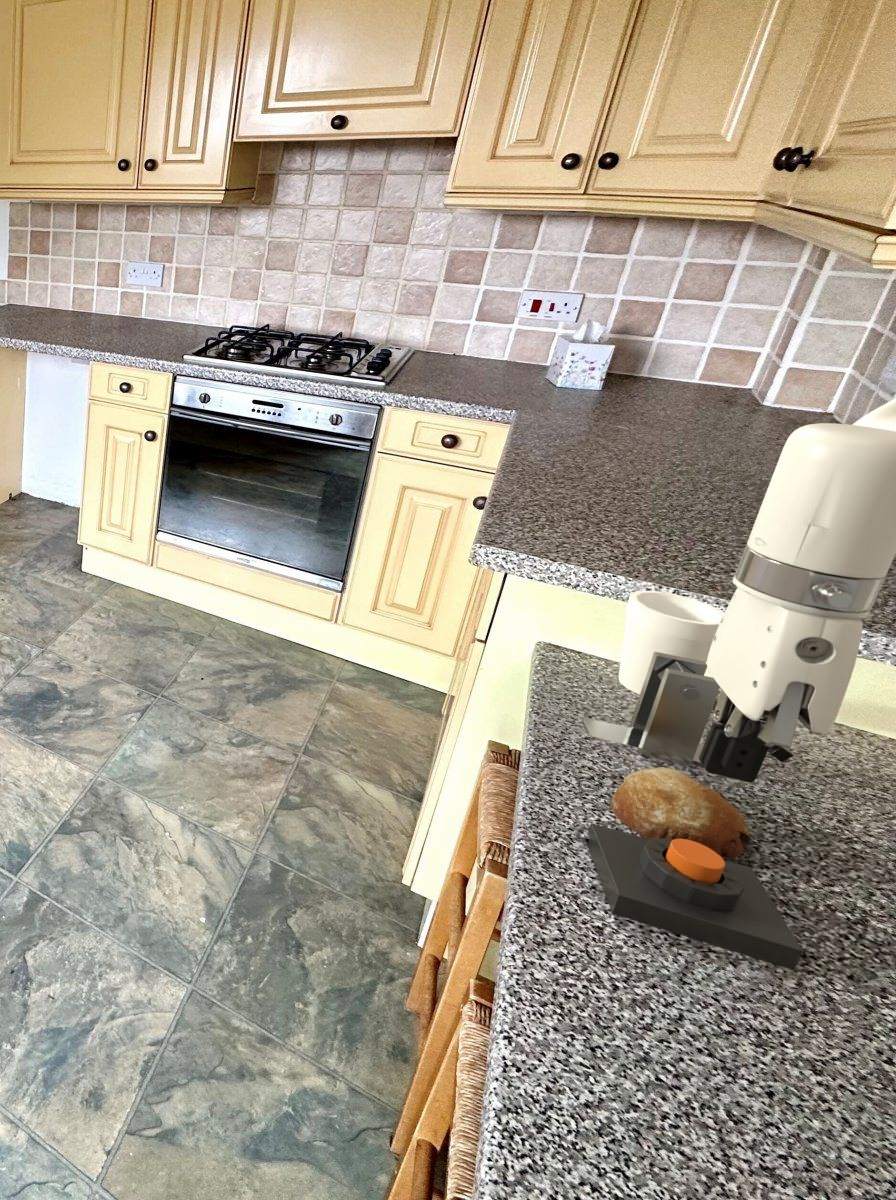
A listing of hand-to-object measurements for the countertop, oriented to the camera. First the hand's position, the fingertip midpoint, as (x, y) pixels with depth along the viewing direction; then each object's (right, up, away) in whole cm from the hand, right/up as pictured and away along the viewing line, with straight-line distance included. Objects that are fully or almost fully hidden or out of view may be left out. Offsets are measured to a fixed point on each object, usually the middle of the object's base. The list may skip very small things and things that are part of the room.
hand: (725, 771), depth 67 cm
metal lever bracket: (+15, -8, +23) cm, 28 cm away
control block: (0, -13, +4) cm, 14 cm away
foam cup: (+27, -4, +36) cm, 45 cm away
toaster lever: (+18, -1, +19) cm, 26 cm away
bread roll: (+7, -11, +13) cm, 18 cm away
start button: (0, -10, +3) cm, 11 cm away
